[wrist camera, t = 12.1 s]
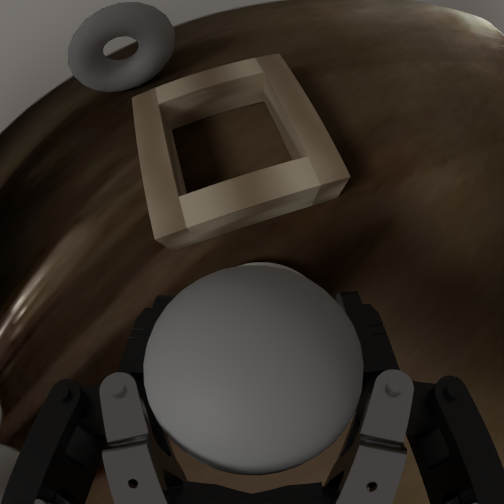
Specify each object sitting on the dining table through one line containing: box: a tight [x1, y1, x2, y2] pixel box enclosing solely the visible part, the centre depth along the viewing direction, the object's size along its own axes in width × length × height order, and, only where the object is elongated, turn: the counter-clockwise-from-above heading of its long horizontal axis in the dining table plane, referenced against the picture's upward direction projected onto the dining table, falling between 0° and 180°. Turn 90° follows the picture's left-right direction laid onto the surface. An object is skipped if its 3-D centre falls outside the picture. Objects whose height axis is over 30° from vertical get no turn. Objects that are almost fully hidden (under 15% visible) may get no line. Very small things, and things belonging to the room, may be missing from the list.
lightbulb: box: [143, 265, 364, 475], centre depth 10 cm, size 6×6×11 cm
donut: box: [68, 2, 175, 92], centre depth 17 cm, size 10×4×10 cm, turn 107°
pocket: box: [132, 53, 350, 251], centre depth 18 cm, size 12×12×4 cm
